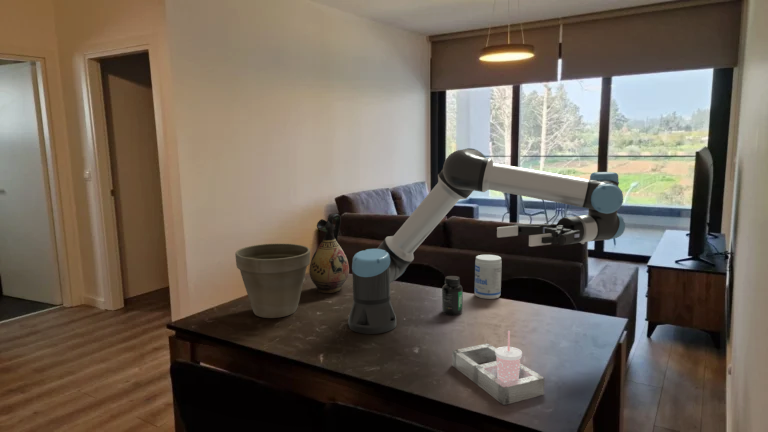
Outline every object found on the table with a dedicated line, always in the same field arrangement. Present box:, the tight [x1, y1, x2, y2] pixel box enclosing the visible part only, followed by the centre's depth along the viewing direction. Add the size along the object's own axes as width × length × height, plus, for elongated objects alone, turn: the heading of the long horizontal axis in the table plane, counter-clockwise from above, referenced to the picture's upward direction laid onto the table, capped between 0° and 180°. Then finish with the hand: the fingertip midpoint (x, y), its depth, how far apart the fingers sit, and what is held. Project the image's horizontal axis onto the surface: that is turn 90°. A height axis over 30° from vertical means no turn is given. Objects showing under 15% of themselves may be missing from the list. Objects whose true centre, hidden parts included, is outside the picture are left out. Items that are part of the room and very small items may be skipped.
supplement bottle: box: [441, 275, 464, 316], centre depth 171 cm, size 7×7×12 cm
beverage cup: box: [495, 330, 523, 383], centre depth 118 cm, size 6×6×14 cm
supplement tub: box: [474, 254, 503, 300], centre depth 188 cm, size 10×10×15 cm
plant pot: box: [234, 243, 311, 319], centre depth 174 cm, size 25×25×22 cm
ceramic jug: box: [308, 213, 350, 294], centre depth 198 cm, size 17×15×30 cm
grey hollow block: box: [451, 343, 545, 406], centre depth 123 cm, size 22×11×4 cm, turn 23°
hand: (512, 236), depth 134 cm, fingers open, 13 cm apart
